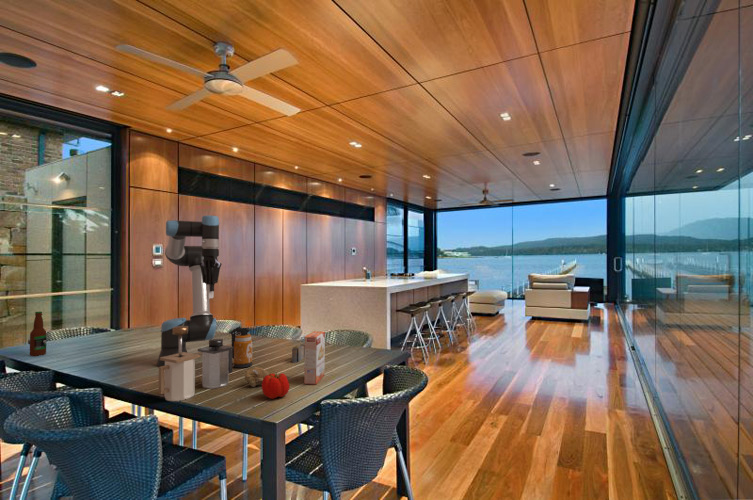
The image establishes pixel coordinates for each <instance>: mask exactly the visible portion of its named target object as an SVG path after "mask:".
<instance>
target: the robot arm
mask: <svg viewBox="0 0 753 500" xmlns="http://www.w3.org/2000/svg"><path fill="white" fill-rule="evenodd" d="M219 219H220V218H219V216H217V215H203V216H201V221H196V220H195V221H193V220H192V221H191V220H167V221H166V222H165V235H166V236H168V243H167V246H166V247H165V250H164V255H165V257H166V259H167V260H168V261H169V262H170V263H172V264H174V265H175V266H179V267H188V270H189V271H190V272H191V288H192V314H191V315H190V316H189V319H188V320H187V318H186V317H176V318H170V319H167V320H164V321H163V322H162V323H161V330H160V332H161V333H160V334H161V336H160V337H161V340H160V352H159V354H158V355H159V356H158V357H157V362H156V363H157V364H156V365H157V367H161V366H165V361H162V360H160V357H164V356H169V355H173V354H178V353H179V335H173V327H176V326H188V334H183V335H182V352H186V353H188V350H187V343H191V342H192V343H193V342H201V341H204V342H205V341H209V340H211V339H215V335H216V330H217V318H216V317H214V314H213V313H211V310H210V309H211V308H210V307H211V305H210V304H211V303H210V299H214V295H215V294H214V291H215V284H218V283H219V276H220V270H221V267H222V265H223V264H222V263H221V262H219V261H218V257H219V256H220V249H219V248H220V220H219ZM187 237H188V238H191V237H197V238H198V237H199V238H201V245H185V244H186V238H187Z"/></svg>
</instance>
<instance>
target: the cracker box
mask: <svg viewBox="0 0 753 500" xmlns="http://www.w3.org/2000/svg"><path fill="white" fill-rule="evenodd" d="M325 338H326V332H325V331H322V330H321V331H319V330H317V331H316V330H315V331H314V330H313V331H312V332H310V333H309V334H307V335H305V336H304V345H305V358H304V363H303V364H304V366H303V368H304V370H303V371H304V374H303V375H304V376H303V377H304V378H303V380H304V381H303V382H304V383H303V384H304V385H317V384H318V383H319V382H320V381H321V380H322V379H323V378H324V377H325V360H326V359H325V353H326V352H325V350H326V347H325V345H326V342H325V341H326V339H325ZM322 377H323V378H322Z"/></svg>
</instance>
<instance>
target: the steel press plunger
mask: <svg viewBox="0 0 753 500" xmlns="http://www.w3.org/2000/svg"><path fill="white" fill-rule="evenodd" d="M223 340H224V339H223V338H213V339H211V340H208V347H214V349H217V347H221V346H223V345H224V343H223V342H224V341H223Z"/></svg>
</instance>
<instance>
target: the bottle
mask: <svg viewBox="0 0 753 500" xmlns="http://www.w3.org/2000/svg"><path fill="white" fill-rule="evenodd" d="M34 314H35V315H34V316H35V317H34V320H33V329H32V330H31V331H30V334H29V356H30V357H40V356H39V355H42V356H44V354H45V355H46V354H47V330H46V329H45V328H44V319H43V311H35V312H34Z"/></svg>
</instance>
